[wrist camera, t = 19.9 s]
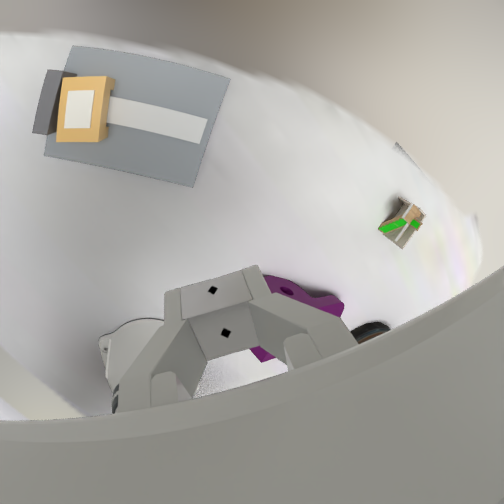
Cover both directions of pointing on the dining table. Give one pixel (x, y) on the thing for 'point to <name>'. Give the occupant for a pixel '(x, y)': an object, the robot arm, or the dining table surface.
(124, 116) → the backplate
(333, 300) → the mounting bracket
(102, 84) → the module
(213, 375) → the dining table surface
